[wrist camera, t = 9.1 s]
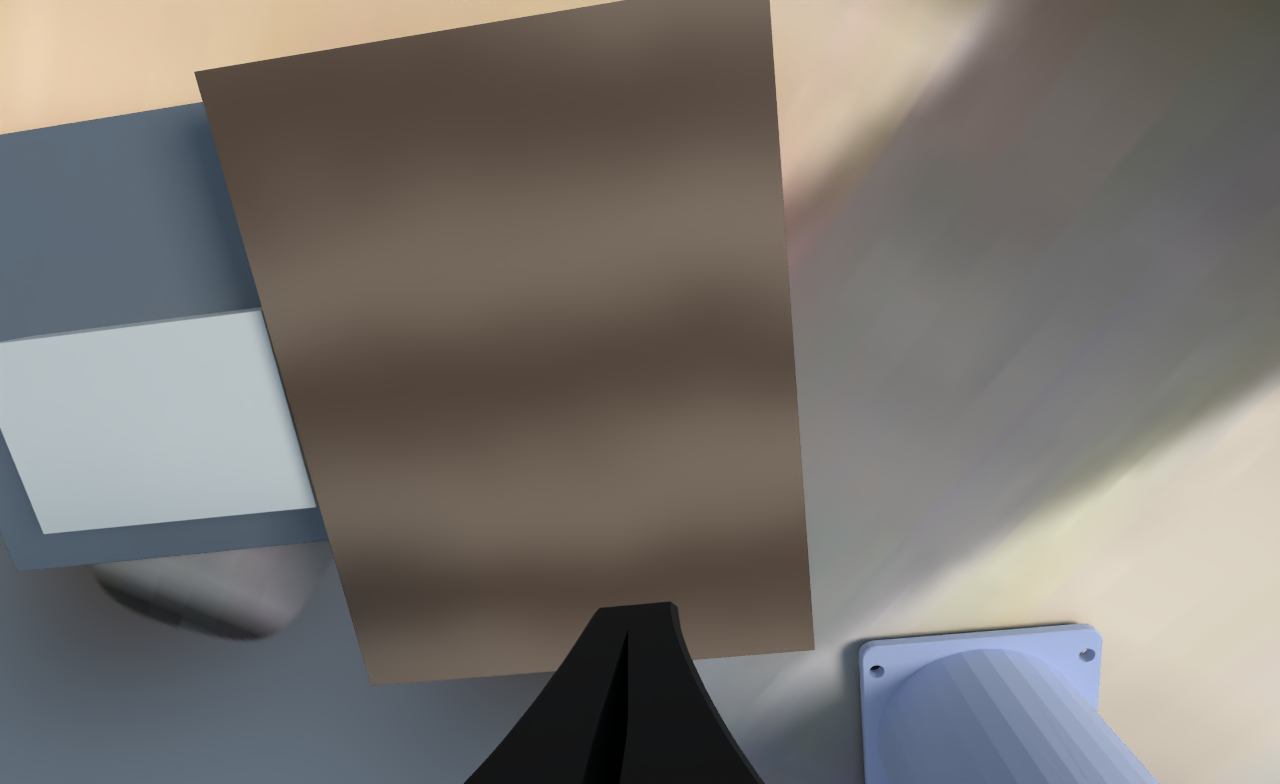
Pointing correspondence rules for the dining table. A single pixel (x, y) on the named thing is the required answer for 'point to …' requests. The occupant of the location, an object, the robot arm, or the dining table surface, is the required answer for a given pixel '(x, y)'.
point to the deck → (534, 327)
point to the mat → (122, 290)
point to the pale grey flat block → (152, 423)
